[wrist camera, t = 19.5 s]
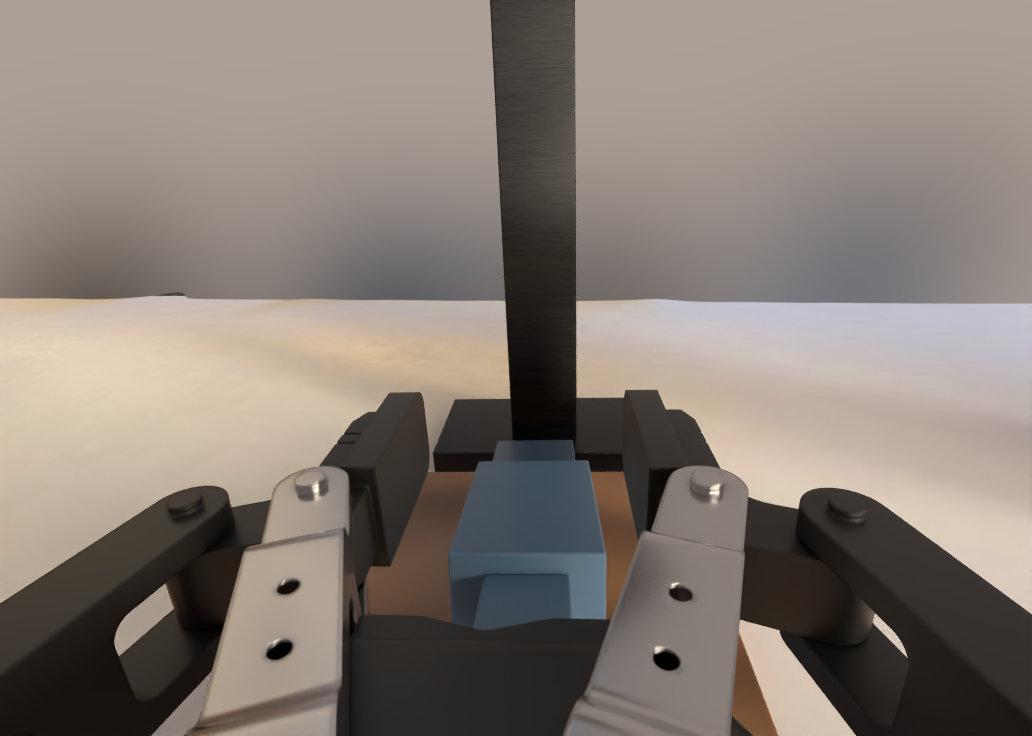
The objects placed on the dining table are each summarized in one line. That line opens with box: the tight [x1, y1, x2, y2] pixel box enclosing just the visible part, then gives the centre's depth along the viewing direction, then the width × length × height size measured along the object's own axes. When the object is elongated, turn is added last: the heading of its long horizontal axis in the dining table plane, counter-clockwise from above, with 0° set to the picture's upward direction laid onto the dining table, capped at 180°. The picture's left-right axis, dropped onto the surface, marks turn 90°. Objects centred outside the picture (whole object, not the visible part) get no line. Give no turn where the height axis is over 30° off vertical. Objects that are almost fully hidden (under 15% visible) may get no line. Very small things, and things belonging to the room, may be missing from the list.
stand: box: [433, 0, 624, 472], centre depth 27 cm, size 8×14×31 cm, turn 86°
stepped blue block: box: [448, 440, 606, 630], centre depth 16 cm, size 18×4×3 cm, turn 176°
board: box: [366, 472, 778, 736], centre depth 17 cm, size 21×13×2 cm, turn 176°
